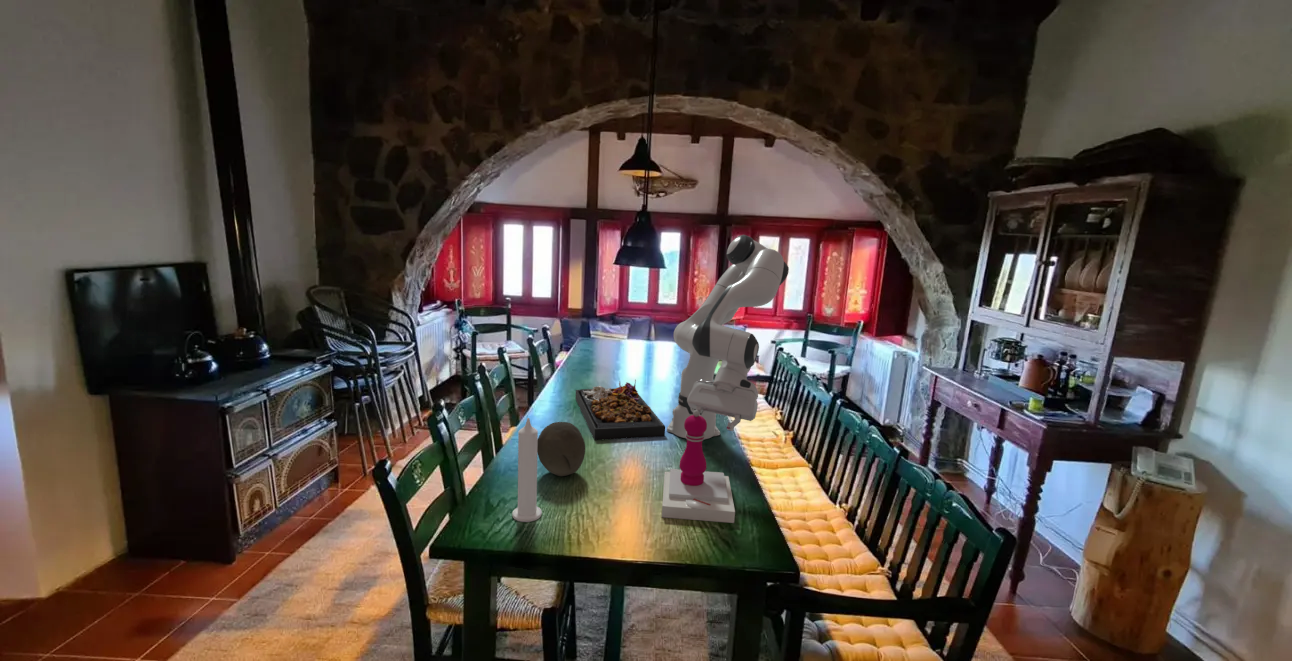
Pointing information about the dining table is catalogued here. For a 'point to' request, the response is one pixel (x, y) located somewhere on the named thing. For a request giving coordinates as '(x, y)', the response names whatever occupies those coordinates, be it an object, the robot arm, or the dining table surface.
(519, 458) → the candle
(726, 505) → the kitchen scale
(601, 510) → the dining table surface
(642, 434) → the food platter
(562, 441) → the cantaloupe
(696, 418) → the pepper mill
